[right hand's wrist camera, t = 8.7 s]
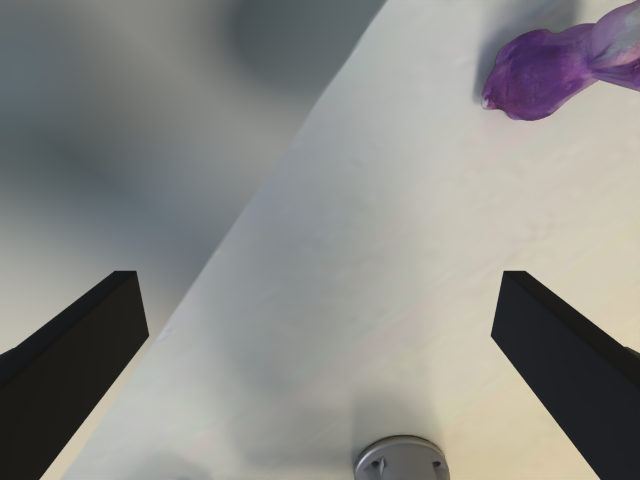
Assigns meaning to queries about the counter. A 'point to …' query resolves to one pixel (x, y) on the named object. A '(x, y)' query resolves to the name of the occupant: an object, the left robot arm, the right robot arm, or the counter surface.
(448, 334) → the counter surface
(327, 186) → the counter surface
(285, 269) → the counter surface
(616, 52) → the figurine
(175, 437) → the counter surface
